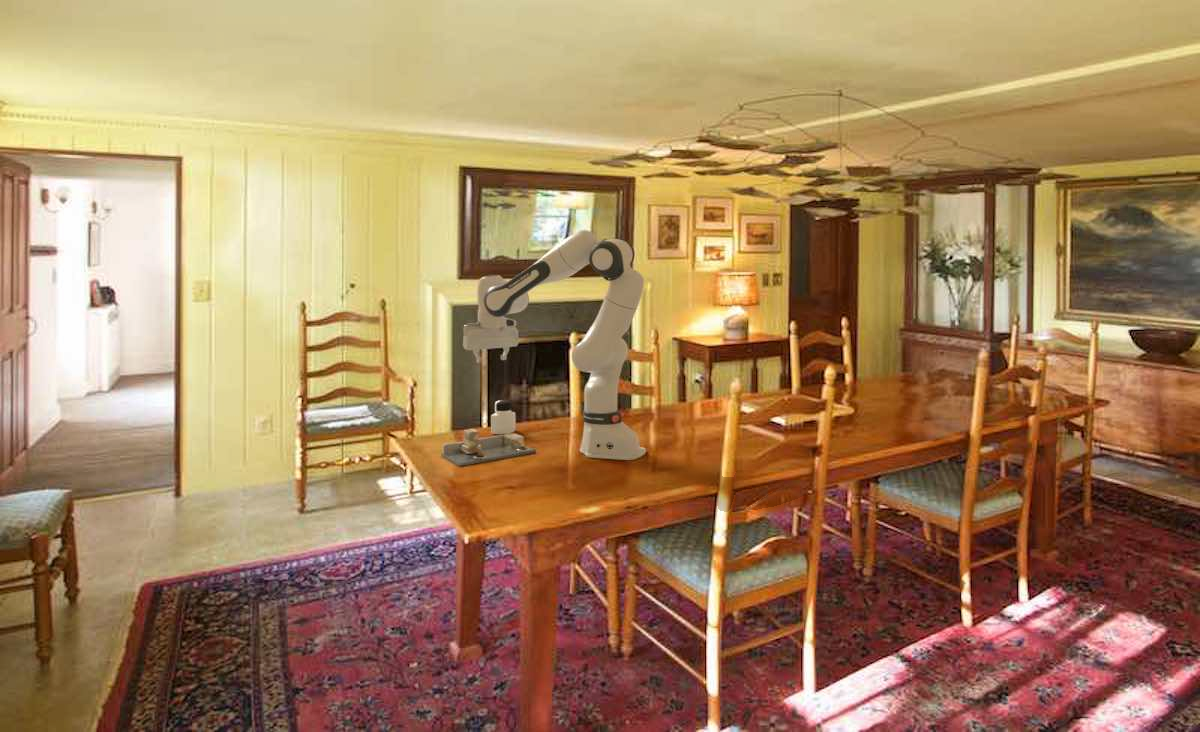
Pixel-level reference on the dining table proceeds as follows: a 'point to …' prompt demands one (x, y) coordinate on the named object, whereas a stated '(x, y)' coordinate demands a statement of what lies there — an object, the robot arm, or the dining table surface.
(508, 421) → the medicine bottle
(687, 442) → the dining table surface
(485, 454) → the divider plate
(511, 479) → the dining table surface
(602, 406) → the robot arm
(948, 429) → the dining table surface
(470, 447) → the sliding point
